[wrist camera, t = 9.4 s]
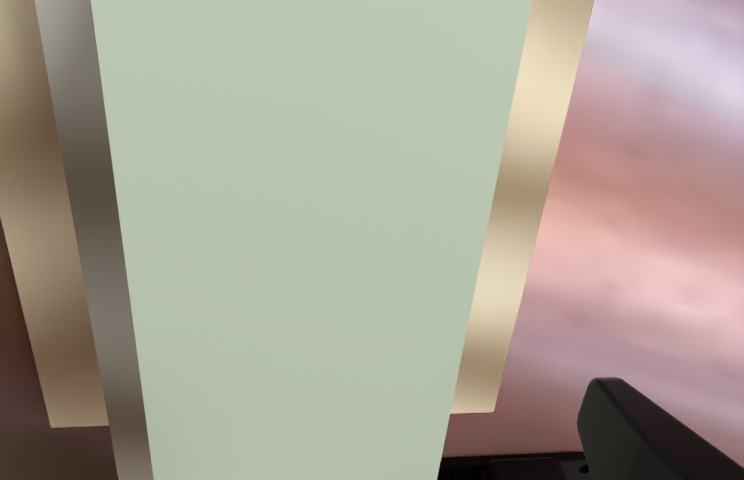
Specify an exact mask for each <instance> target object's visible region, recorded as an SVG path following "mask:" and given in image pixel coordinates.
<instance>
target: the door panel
mask: <svg viewBox="0 0 744 480" xmlns="http://www.w3.org/2000/svg"><path fill="white" fill-rule="evenodd" d="M532 2H533V0H91V6H92V14H93V22H94V29H95V37H96V44H97V52H98V60H99V67H100V75H101V82H102V90H103V98H104V105H105V113H106V120H107V128H108V136H109V143H110V151H111V158H112V166H113V174H114V181H115V189H116V196H117V204H118V212H119V219H120V227H121V235H122V242H123V250H124V257H125V265H126V273H127V280H128V288H129V295H130V303H131V311H132V318H133V326H134V333H135V341H136V349H137V356H138V364H139V371H140V379H141V387H142V394H143V402H144V409H145V417H146V425H147V432H148V440H149V447H150V455H151V463H152V470H153V478H154V480H437V477H438V472H439V467H440V462H441V457H442V452H443V447H444V442H445V437H446V432H447V427H448V422H449V417H450V412H451V407H452V402H453V397H454V392H455V387H456V382H457V377H458V372H459V367H460V362H461V357H462V352H463V347H464V342H465V337H466V332H467V327H468V322H469V317H470V312H471V307H472V302H473V297H474V292H475V287H476V282H477V277H478V272H479V267H480V262H481V257H482V252H483V247H484V242H485V237H486V232H487V227H488V222H489V217H490V212H491V207H492V202H493V197H494V192H495V187H496V182H497V177H498V172H499V167H500V162H501V157H502V152H503V147H504V142H505V137H506V132H507V127H508V122H509V117H510V112H511V107H512V102H513V97H514V92H515V87H516V82H517V77H518V72H519V67H520V62H521V57H522V52H523V47H524V42H525V37H526V32H527V27H528V22H529V17H530V12H531V7H532Z"/></svg>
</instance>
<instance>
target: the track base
mask: <svg viewBox="0 0 744 480" xmlns="http://www.w3.org/2000/svg"><path fill="white" fill-rule="evenodd" d="M593 3H594V0H533V2H532V7H531V12H530V17H529V22H528V27H527V32H526V37H525V42H524V47H523V52H522V57H521V62H520V67H519V72H518V77H517V82H516V87H515V92H514V97H513V102H512V107H511V112H510V117H509V122H508V127H507V132H506V137H505V142H504V147H503V152H502V157H501V162H500V167H499V172H498V177H497V182H496V187H495V192H494V197H493V202H492V207H491V212H490V217H489V222H488V227H487V232H486V237H485V242H484V247H483V252H482V257H481V262H480V267H479V272H478V277H477V282H476V287H475V292H474V297H473V302H472V307H471V312H470V317H469V322H468V327H467V332H466V337H465V342H464V347H463V352H462V357H461V362H460V367H459V372H458V377H457V382H456V387H455V392H454V397H453V402H452V407H451V412H450V414H452V413H480V412H494V408H495V404H496V400H497V396H498V392H499V388H500V384H501V380H502V376H503V371H504V367H505V363H506V359H507V355H508V351H509V347H510V343H511V339H512V335H513V331H514V326H515V322H516V318H517V314H518V310H519V306H520V302H521V298H522V294H523V290H524V286H525V281H526V277H527V273H528V269H529V265H530V261H531V257H532V253H533V249H534V245H535V241H536V236H537V232H538V228H539V224H540V220H541V216H542V212H543V208H544V204H545V200H546V196H547V192H548V187H549V183H550V179H551V175H552V171H553V167H554V163H555V159H556V155H557V151H558V147H559V142H560V138H561V134H562V130H563V126H564V122H565V118H566V114H567V110H568V106H569V102H570V97H571V93H572V89H573V85H574V81H575V77H576V73H577V69H578V65H579V61H580V57H581V52H582V48H583V44H584V40H585V36H586V32H587V28H588V24H589V20H590V16H591V12H592V8H593ZM0 218H1V222H2V226H3V230H4V234H5V238H6V243H7V247H8V251H9V255H10V259H11V263H12V268H13V272H14V276H15V280H16V284H17V288H18V293H19V297H20V301H21V305H22V309H23V313H24V318H25V322H26V326H27V330H28V334H29V339H30V343H31V347H32V351H33V355H34V359H35V364H36V368H37V372H38V376H39V380H40V384H41V389H42V393H43V397H44V401H45V405H46V409H47V414H48V418H49V422H50V426H51V428H55V427H83V426H109V428H110V434H111V440H112V445H113V451H114V457H115V463H116V468H117V474H118V480H154V478H153V470H152V463H151V455H150V447H149V440H148V432H147V425H146V417H145V409H144V402H143V394H142V387H141V379H140V371H139V364H138V356H137V349H136V341H135V333H134V326H133V318H132V311H131V303H130V295H129V288H128V280H127V273H126V265H125V257H124V250H123V242H122V235H121V227H120V219H119V212H118V204H117V196H116V189H115V181H114V174H113V166H112V158H111V151H110V143H109V136H108V128H107V120H106V113H105V105H104V98H103V90H102V82H101V75H100V67H99V60H98V52H97V44H96V37H95V29H94V22H93V14H92V6H91V0H0Z"/></svg>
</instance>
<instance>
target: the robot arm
mask: <svg viewBox="0 0 744 480" xmlns="http://www.w3.org/2000/svg"><path fill="white" fill-rule="evenodd" d="M577 427H578V432H579V436H580V440H581V443H582V447H583V450H584V452H572V453H550V454H528V455H506V456H484V457H462V458H446V459H442V460H441V462H440V467H439V472H438V477H437V480H744V468H743V467H742V466H741V465H739V464H738V463H736V462H735V461H734V460H732V459H731V458H730V457H728V456H727V455H725V454H724V453H723V452H721V451H720V450H719V449H717V448H716V447H714V446H713V445H712V444H710V443H709V442H708V441H706V440H705V439H703V438H702V437H701V436H699V435H698V434H697V433H695V432H694V431H692V430H691V429H690V428H688V427H687V426H686V425H684V424H683V423H682V422H680V421H679V420H677V419H676V418H675V417H673V416H672V415H671V414H669V413H668V412H666V411H665V410H664V409H662V408H661V407H660V406H658V405H657V404H655V403H654V402H653V401H651V400H650V399H649V398H647V397H646V396H644V395H643V394H642V393H640V392H639V391H638V390H636V389H635V388H633V387H632V386H631V385H629V384H628V383H627V382H625V381H624V380H622V379H620V378H617V377H604V378H594V379H592V380H591V381H590V383H589V385H588V387H587V390H586V393H585V396H584V399H583V402H582V405H581V408H580V411H579V414H578V419H577Z"/></svg>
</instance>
